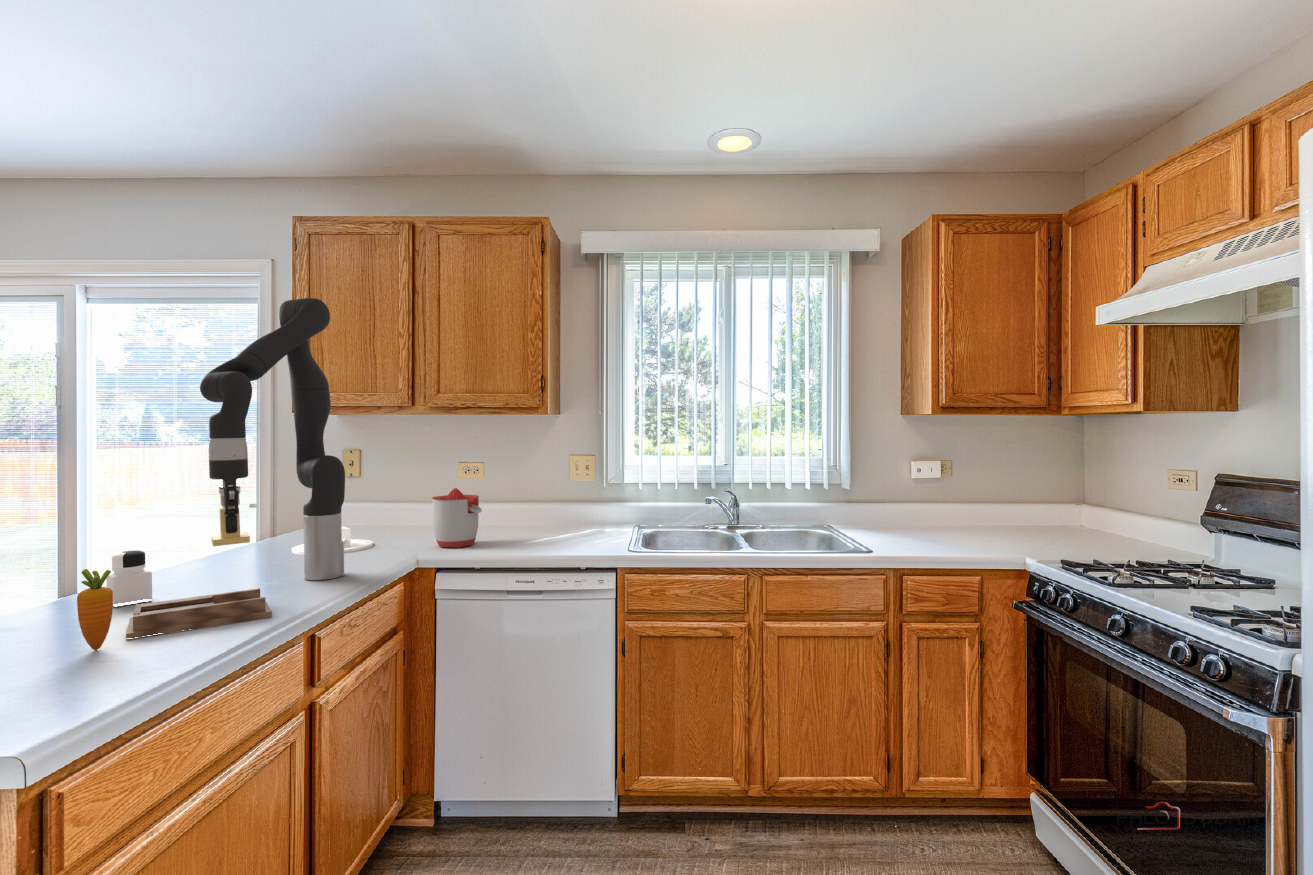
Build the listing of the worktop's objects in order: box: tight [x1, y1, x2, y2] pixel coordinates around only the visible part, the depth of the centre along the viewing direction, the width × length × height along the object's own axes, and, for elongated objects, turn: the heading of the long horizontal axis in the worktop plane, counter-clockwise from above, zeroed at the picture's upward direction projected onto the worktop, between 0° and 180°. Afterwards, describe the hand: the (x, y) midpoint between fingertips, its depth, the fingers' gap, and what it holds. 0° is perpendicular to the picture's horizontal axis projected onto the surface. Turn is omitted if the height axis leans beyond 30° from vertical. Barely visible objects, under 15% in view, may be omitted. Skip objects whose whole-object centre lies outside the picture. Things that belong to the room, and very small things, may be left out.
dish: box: [291, 525, 374, 556], centre depth 220 cm, size 25×25×11 cm
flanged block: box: [210, 506, 251, 547], centre depth 149 cm, size 7×7×8 cm
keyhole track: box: [125, 587, 273, 639], centre depth 135 cm, size 24×14×4 cm, turn 127°
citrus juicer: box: [431, 487, 482, 549], centre depth 222 cm, size 16×17×20 cm
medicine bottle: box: [105, 549, 153, 604], centre depth 151 cm, size 7×7×12 cm
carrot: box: [76, 568, 114, 651], centre depth 117 cm, size 5×5×15 cm
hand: (231, 531), depth 149 cm, fingers closed on flanged block, 3 cm apart
